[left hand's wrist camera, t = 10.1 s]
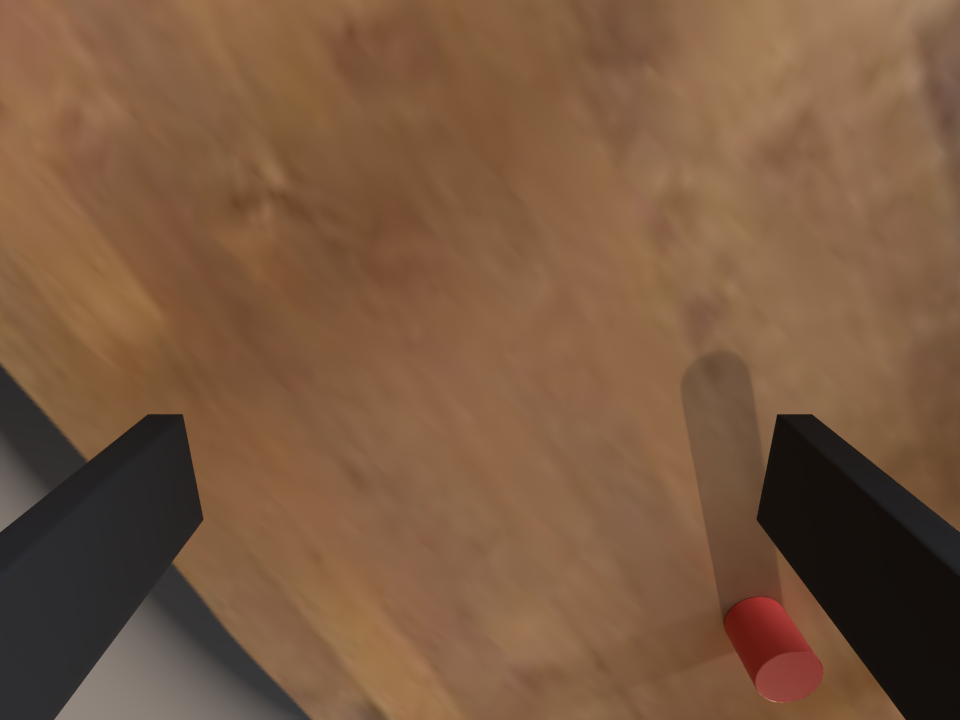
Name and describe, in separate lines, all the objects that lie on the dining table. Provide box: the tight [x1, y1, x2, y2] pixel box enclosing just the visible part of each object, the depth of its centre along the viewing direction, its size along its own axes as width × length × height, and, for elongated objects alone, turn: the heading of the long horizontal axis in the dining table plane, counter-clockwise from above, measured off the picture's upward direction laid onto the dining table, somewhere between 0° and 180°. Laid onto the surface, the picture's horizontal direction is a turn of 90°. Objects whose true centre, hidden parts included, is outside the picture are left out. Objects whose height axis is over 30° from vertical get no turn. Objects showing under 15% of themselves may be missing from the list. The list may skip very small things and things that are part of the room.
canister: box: [725, 597, 823, 702], centre depth 37 cm, size 4×4×5 cm
